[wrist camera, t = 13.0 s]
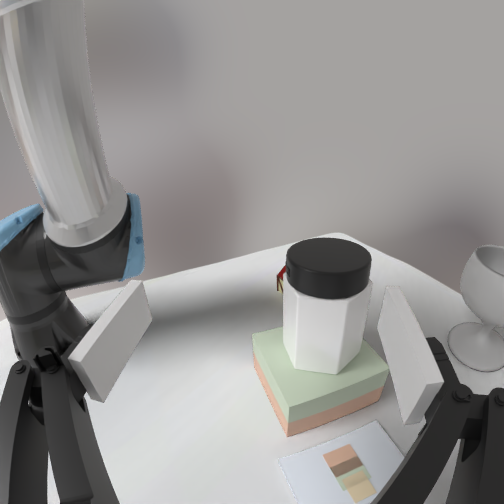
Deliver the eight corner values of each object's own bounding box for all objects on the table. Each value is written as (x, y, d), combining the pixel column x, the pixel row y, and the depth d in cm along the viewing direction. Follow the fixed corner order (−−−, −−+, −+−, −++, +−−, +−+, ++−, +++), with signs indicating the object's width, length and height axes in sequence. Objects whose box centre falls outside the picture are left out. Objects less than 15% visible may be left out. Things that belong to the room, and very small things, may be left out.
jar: (317, 317, 38) (322, 230, 33) (370, 343, 32) (387, 250, 27) (267, 352, 33) (264, 255, 28) (324, 388, 27) (338, 285, 22)
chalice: (505, 390, 26) (551, 298, 20) (430, 356, 36) (459, 263, 30) (516, 337, 34) (545, 259, 28) (454, 312, 44) (475, 234, 38)
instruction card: (277, 460, 25) (277, 458, 25) (375, 421, 28) (376, 419, 28) (310, 529, 17) (310, 528, 17) (416, 475, 20) (417, 474, 20)
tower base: (254, 367, 38) (252, 333, 36) (333, 344, 41) (337, 311, 39) (286, 437, 28) (289, 407, 25) (378, 400, 31) (390, 367, 28)
